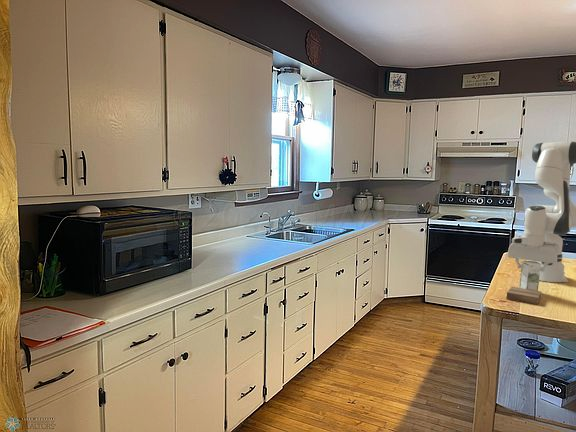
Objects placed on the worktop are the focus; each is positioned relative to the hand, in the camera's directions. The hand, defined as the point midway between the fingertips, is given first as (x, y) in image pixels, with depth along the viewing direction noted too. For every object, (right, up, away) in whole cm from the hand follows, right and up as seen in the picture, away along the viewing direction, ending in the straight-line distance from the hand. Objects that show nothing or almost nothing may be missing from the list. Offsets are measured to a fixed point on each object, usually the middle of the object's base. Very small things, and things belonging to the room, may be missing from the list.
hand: (530, 269), depth 201 cm
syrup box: (0, -11, +1) cm, 11 cm away
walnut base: (-9, -12, -10) cm, 18 cm away
